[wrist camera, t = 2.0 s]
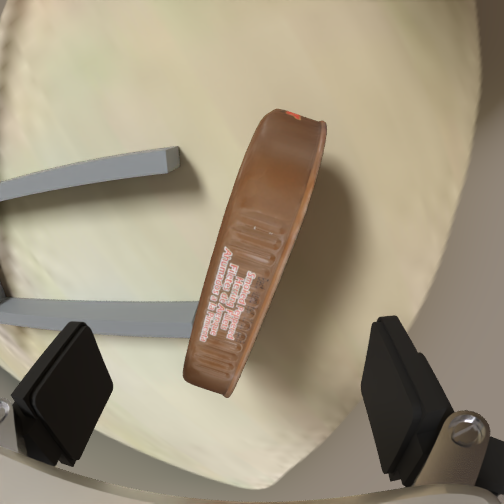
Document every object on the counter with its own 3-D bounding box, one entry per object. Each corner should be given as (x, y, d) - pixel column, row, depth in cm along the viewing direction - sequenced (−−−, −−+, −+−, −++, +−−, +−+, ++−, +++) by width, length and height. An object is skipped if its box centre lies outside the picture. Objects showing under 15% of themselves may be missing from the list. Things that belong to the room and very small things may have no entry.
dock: (-32, 191, 19) (-51, 199, 16) (178, 146, 17) (165, 149, 15) (3, 307, 23) (-12, 321, 21) (201, 316, 22) (194, 337, 20)
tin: (240, 336, 23) (228, 431, 15) (197, 324, 22) (169, 415, 15) (317, 124, 17) (358, 126, 9) (264, 106, 17) (262, 91, 9)
